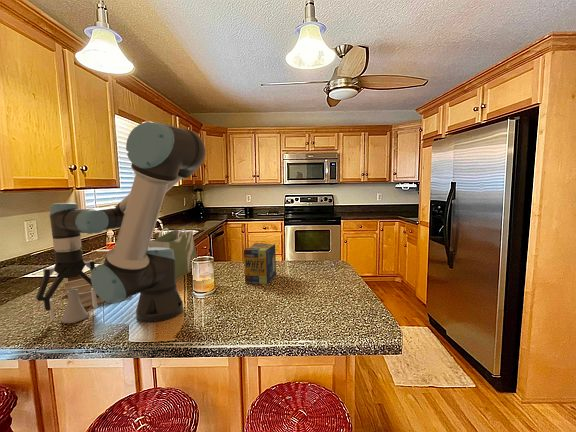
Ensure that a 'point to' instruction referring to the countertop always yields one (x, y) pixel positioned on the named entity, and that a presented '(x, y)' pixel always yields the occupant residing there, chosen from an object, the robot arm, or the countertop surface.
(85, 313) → the flask
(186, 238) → the grocery bag
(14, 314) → the countertop surface
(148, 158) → the robot arm
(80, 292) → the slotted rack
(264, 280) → the protein box
